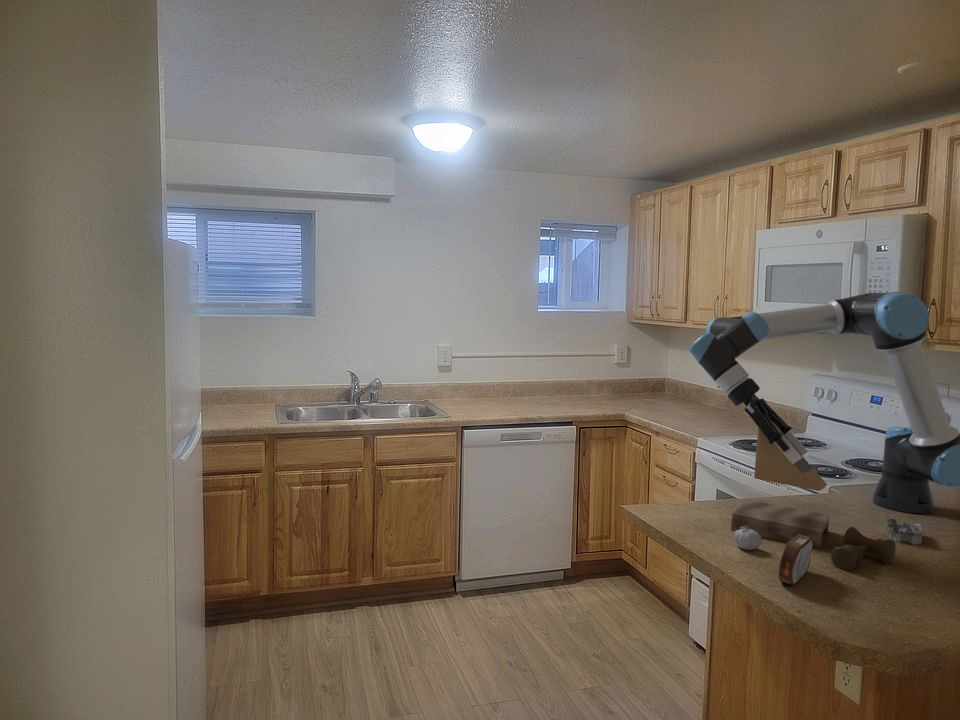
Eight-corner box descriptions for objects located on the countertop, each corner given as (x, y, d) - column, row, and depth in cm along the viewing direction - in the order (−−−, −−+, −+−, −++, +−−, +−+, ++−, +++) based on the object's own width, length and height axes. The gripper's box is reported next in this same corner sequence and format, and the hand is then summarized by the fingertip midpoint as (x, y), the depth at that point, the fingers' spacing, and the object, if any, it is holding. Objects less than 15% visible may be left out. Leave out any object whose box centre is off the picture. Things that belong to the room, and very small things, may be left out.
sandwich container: (820, 491, 162) (826, 428, 160) (753, 478, 171) (758, 419, 170) (828, 484, 168) (834, 424, 167) (763, 472, 178) (768, 415, 176)
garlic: (731, 549, 157) (733, 527, 156) (733, 542, 161) (735, 521, 161) (760, 555, 154) (762, 532, 154) (761, 547, 159) (762, 525, 159)
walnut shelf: (828, 531, 173) (829, 514, 173) (820, 549, 159) (821, 531, 159) (745, 514, 184) (746, 499, 183) (730, 530, 170) (732, 513, 170)
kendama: (817, 564, 151) (857, 545, 164) (863, 581, 144) (902, 559, 156) (820, 538, 151) (860, 520, 163) (866, 553, 143) (905, 533, 155)
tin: (797, 566, 148) (800, 528, 147) (812, 570, 146) (816, 532, 145) (775, 587, 136) (779, 546, 136) (792, 592, 134) (796, 550, 134)
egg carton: (884, 529, 177) (885, 513, 177) (918, 534, 174) (919, 519, 174) (886, 541, 168) (888, 524, 168) (923, 547, 165) (924, 530, 164)
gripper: (736, 391, 186) (794, 459, 179) (715, 398, 168) (780, 474, 161) (758, 373, 183) (819, 442, 176) (740, 379, 165) (806, 456, 158)
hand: (800, 457), depth 168 cm, fingers closed on sandwich container, 8 cm apart
